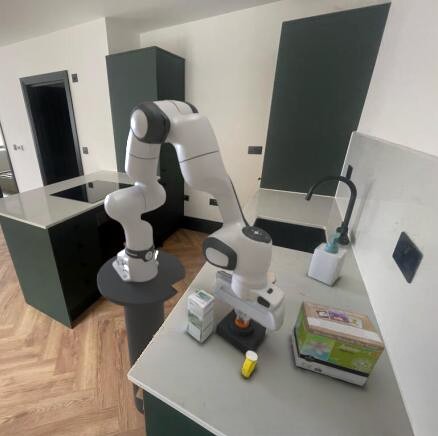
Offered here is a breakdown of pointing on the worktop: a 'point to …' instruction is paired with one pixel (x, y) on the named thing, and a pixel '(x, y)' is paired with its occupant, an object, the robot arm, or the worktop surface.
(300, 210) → the worktop surface
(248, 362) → the yellow chunky piece
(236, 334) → the button base
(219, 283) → the robot arm
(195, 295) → the syrup box
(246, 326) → the orange button cap
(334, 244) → the soap bottle
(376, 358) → the tea box
